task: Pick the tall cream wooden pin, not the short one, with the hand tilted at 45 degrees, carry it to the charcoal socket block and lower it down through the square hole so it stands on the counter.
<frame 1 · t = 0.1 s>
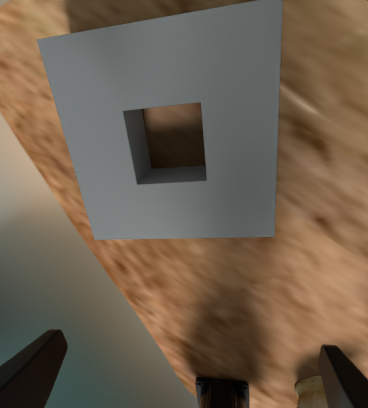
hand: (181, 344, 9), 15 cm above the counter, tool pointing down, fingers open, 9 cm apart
socket block: (176, 136, 20), on the counter
chocolate bunny: (324, 385, 30), on the counter
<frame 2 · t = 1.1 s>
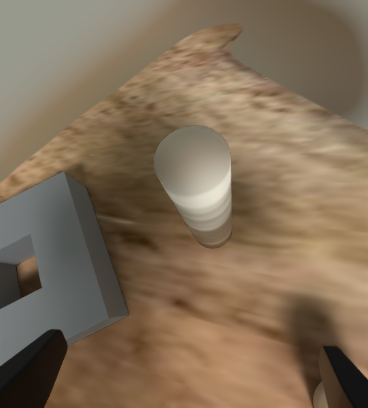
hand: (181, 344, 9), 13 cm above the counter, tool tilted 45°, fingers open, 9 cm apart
socket block: (42, 276, 25), on the counter
long pin: (212, 229, 24), on the counter
short pin: (340, 407, 18), on the counter
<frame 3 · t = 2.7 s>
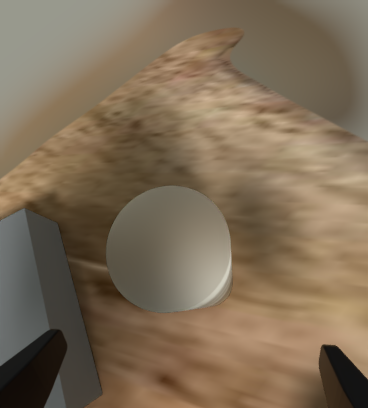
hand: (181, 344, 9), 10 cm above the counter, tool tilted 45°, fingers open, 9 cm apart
long pin: (208, 280, 19), on the counter
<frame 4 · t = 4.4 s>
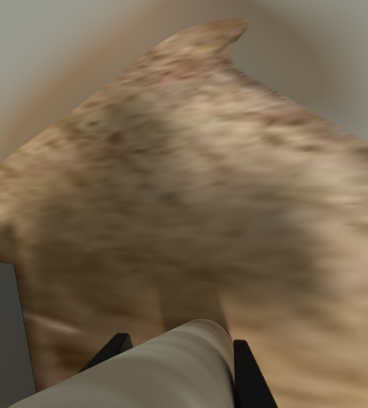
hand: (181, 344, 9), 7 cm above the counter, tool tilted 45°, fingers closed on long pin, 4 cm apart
long pin: (202, 353, 14), on the counter, touching gripper
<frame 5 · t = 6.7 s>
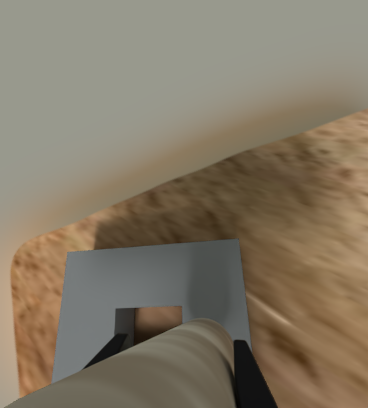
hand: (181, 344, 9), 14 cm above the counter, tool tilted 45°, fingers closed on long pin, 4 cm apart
socket block: (162, 338, 21), on the counter
long pin: (202, 352, 14), point 7 cm above the counter, touching gripper
when the fingers open (9 cm above the counter, at t = 8.9 s): long pin drops 2 cm, resting in socket block.
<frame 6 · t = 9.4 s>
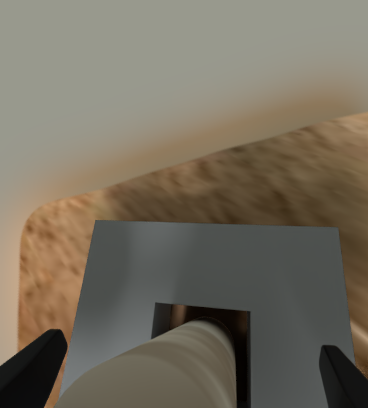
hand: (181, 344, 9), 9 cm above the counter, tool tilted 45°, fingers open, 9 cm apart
socket block: (206, 347, 16), on the counter
long pin: (206, 347, 16), resting in socket block
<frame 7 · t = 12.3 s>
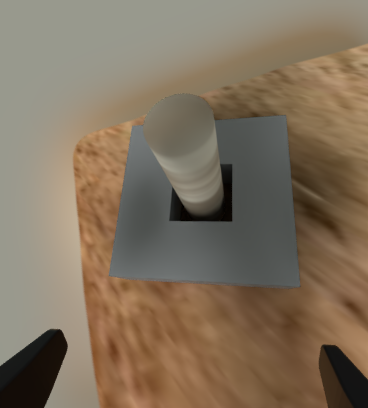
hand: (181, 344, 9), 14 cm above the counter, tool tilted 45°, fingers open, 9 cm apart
socket block: (206, 207, 25), on the counter
long pin: (206, 208, 25), resting in socket block
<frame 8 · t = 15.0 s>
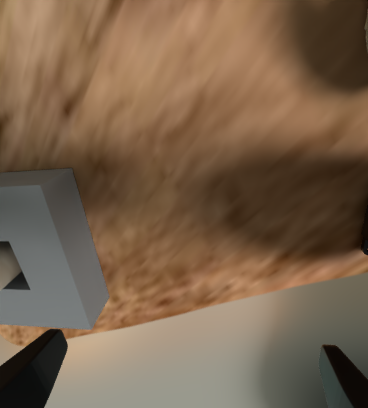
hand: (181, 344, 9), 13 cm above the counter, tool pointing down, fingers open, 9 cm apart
socket block: (27, 240, 25), on the counter
long pin: (27, 240, 25), resting in socket block
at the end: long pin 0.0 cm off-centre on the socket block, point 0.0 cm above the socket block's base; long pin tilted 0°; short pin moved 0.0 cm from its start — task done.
